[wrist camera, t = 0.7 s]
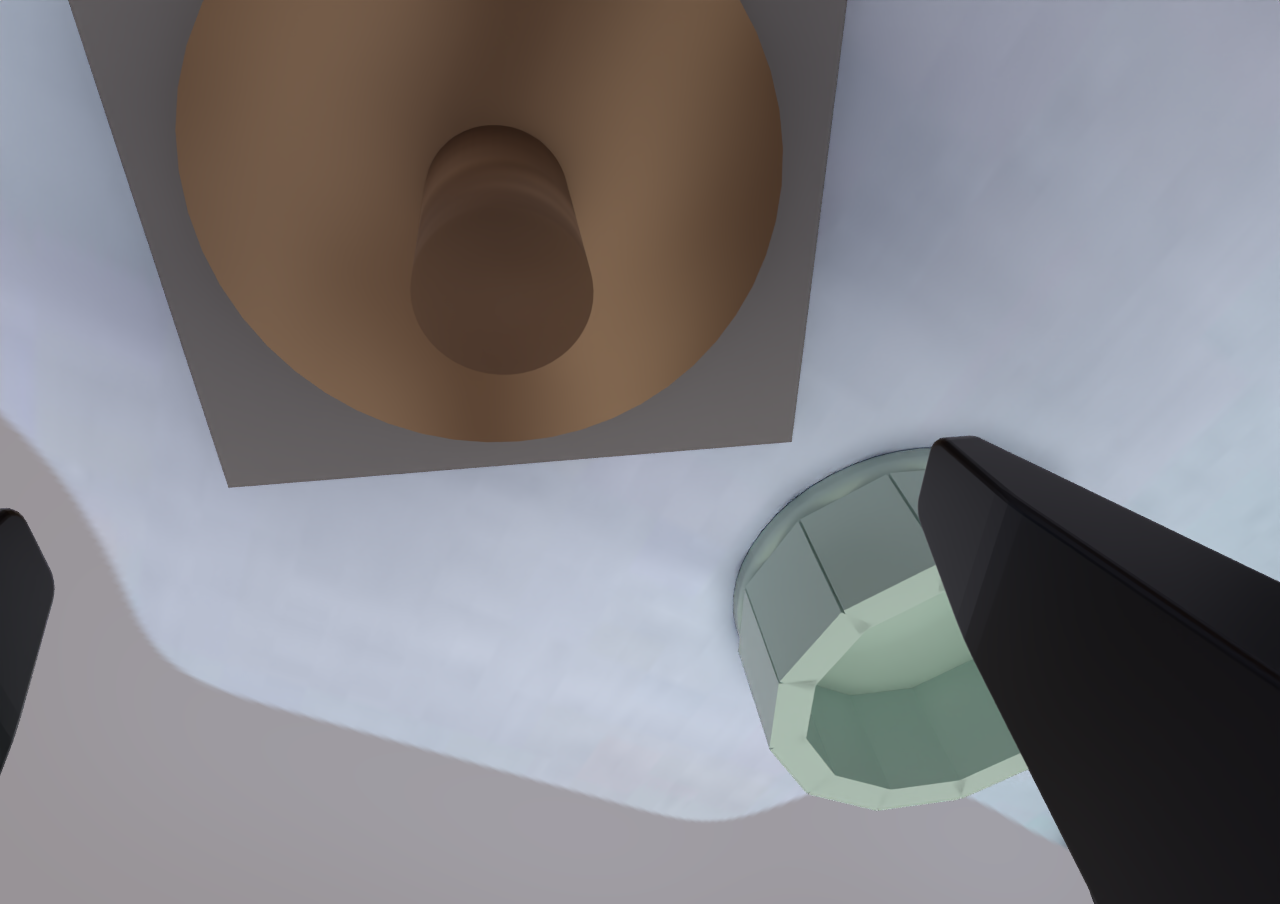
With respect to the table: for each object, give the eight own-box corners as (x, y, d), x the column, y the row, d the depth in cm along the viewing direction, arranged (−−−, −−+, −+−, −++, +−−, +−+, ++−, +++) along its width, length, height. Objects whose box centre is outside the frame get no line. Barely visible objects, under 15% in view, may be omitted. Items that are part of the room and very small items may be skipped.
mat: (865, -241, 15) (877, -244, 15) (784, 429, 23) (791, 441, 23) (-1, -258, 14) (-18, -262, 13) (234, 473, 21) (228, 487, 21)
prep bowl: (1085, 434, 25) (1190, 535, 21) (1001, 671, 31) (1072, 783, 27) (745, 463, 24) (794, 575, 20) (723, 705, 29) (758, 827, 26)
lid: (800, -159, 15) (930, -160, 11) (750, 404, 22) (818, 544, 18) (95, -163, 14) (-82, -167, 9) (269, 442, 20) (213, 605, 16)
